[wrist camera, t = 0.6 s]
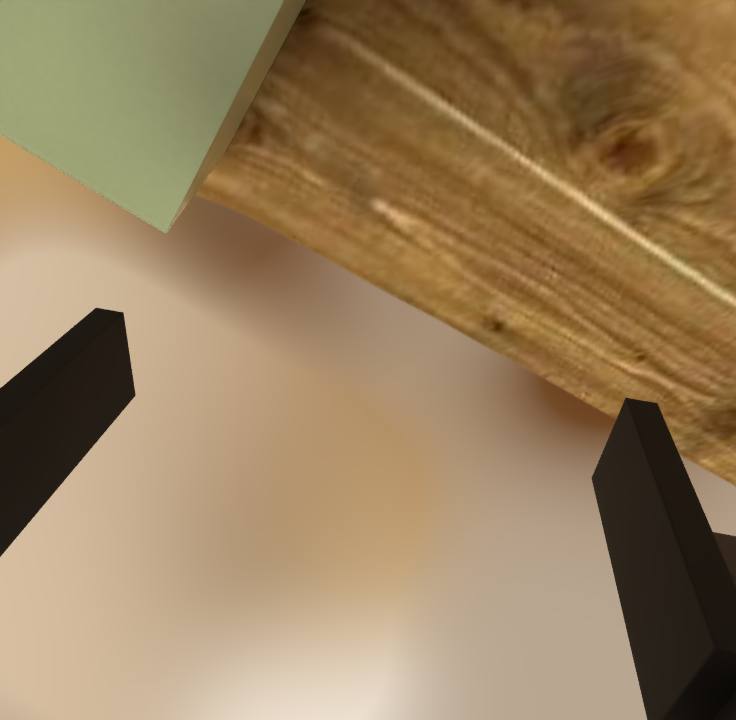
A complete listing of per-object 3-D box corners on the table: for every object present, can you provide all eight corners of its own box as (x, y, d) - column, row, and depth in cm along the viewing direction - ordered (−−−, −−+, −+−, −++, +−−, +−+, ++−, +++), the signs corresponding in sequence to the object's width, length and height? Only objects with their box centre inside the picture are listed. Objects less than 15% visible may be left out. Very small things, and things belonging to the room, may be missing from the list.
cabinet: (86, -283, 24) (-71, -316, 17) (341, -66, 28) (296, -22, 21) (22, 17, 33) (-100, 75, 26) (225, 152, 37) (165, 234, 30)
